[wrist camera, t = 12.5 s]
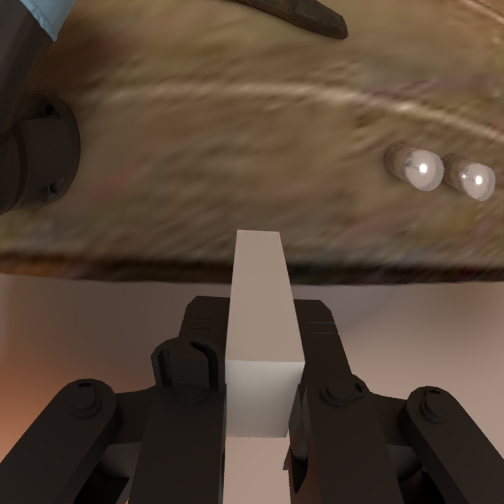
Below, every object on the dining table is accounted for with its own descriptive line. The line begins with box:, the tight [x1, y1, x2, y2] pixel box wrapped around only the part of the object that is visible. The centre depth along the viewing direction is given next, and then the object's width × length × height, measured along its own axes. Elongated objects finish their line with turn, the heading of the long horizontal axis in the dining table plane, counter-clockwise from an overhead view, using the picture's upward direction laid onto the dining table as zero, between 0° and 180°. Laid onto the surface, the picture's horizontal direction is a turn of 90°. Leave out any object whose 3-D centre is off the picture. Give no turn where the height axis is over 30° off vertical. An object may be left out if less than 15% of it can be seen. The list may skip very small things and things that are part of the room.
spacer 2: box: [442, 154, 495, 201], centre depth 31 cm, size 4×4×7 cm
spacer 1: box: [384, 143, 444, 191], centre depth 31 cm, size 4×4×7 cm
